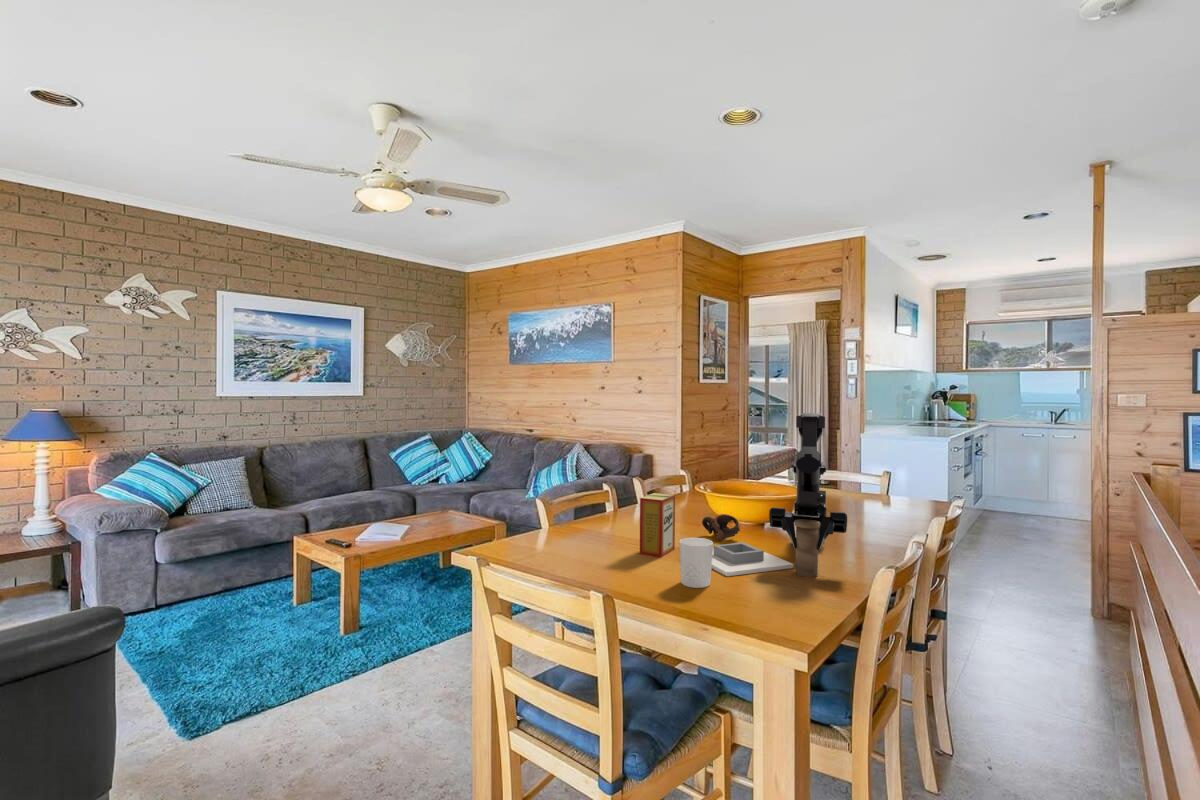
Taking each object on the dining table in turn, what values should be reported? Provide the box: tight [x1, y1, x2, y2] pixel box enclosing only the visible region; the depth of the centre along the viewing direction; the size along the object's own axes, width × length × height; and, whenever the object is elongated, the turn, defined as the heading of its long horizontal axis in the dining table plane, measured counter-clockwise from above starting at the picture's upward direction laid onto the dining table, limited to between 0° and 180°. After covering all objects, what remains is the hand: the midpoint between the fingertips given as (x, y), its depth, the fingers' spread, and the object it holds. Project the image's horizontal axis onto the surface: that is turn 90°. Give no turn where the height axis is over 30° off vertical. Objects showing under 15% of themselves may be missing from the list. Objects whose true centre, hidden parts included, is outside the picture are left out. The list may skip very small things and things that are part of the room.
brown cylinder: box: [794, 519, 820, 578], centre depth 150 cm, size 6×6×13 cm
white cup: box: [678, 537, 714, 589], centre depth 142 cm, size 8×8×10 cm
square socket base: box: [711, 541, 794, 577], centre depth 161 cm, size 20×20×4 cm
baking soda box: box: [639, 492, 676, 558], centre depth 170 cm, size 10×6×16 cm
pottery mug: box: [701, 513, 741, 542], centre depth 186 cm, size 12×10×8 cm
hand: (806, 548), depth 149 cm, fingers closed on brown cylinder, 5 cm apart
